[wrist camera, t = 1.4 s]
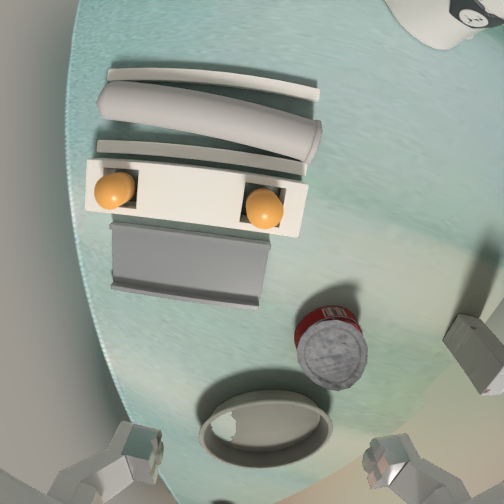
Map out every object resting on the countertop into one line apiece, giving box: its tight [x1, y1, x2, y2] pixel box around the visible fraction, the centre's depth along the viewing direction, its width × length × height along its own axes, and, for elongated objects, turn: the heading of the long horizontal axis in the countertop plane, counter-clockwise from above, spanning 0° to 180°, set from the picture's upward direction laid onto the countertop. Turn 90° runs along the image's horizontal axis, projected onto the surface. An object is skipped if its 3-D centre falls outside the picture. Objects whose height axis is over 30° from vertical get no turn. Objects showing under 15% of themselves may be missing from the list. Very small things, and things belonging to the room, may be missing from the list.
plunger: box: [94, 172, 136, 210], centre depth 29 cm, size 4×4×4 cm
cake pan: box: [199, 390, 333, 469], centre depth 48 cm, size 25×25×4 cm
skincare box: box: [443, 314, 504, 396], centre depth 37 cm, size 8×7×16 cm
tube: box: [96, 81, 322, 165], centre depth 29 cm, size 5×5×25 cm
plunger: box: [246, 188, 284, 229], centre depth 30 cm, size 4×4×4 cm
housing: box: [85, 68, 320, 238], centre depth 31 cm, size 17×25×4 cm
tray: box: [109, 221, 271, 310], centre depth 37 cm, size 9×20×2 cm, turn 81°
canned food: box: [294, 306, 368, 391], centre depth 40 cm, size 11×10×10 cm
